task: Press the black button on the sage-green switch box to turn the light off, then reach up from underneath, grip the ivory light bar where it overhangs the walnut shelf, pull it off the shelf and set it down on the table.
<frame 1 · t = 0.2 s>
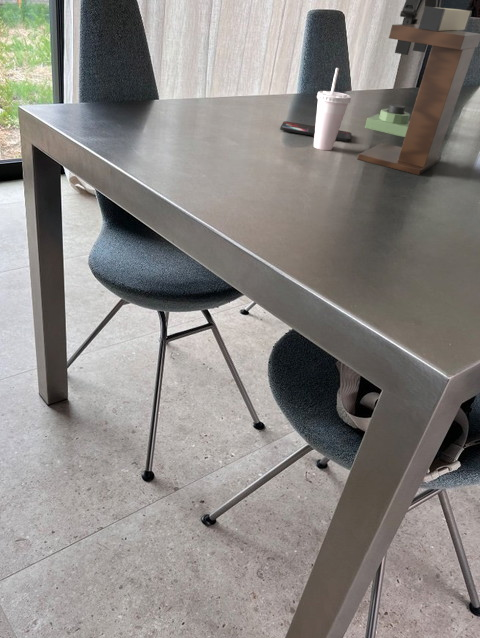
hand: (410, 52, 126), 16 cm above the table, tool pointing down, fingers open, 13 cm apart
button: (396, 109, 130), point 4 cm above the table, slide at 0.1 cm
smartphone: (315, 133, 121), on the table
smoothie: (322, 148, 112), on the table
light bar: (443, 29, 100), point 22 cm above the table, touching shelf
shelf: (398, 160, 110), on the table
switch box: (390, 130, 132), on the table
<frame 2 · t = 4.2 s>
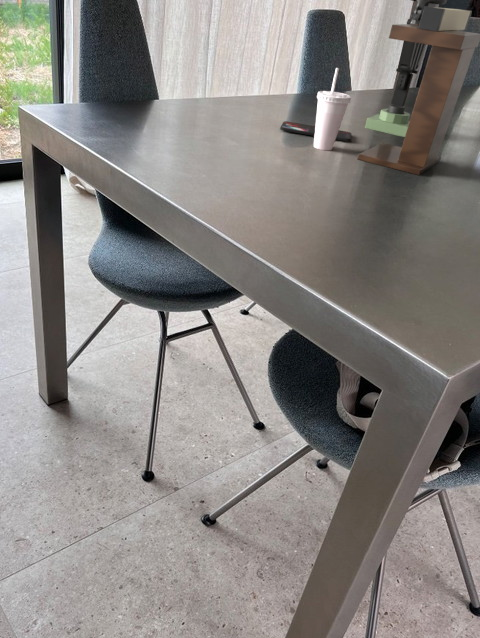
hand: (397, 104, 129), 6 cm above the table, tool pointing down, fingers closed
button: (396, 110, 130), point 4 cm above the table, slide at 0.0 cm, touching gripper
everything else where it was.
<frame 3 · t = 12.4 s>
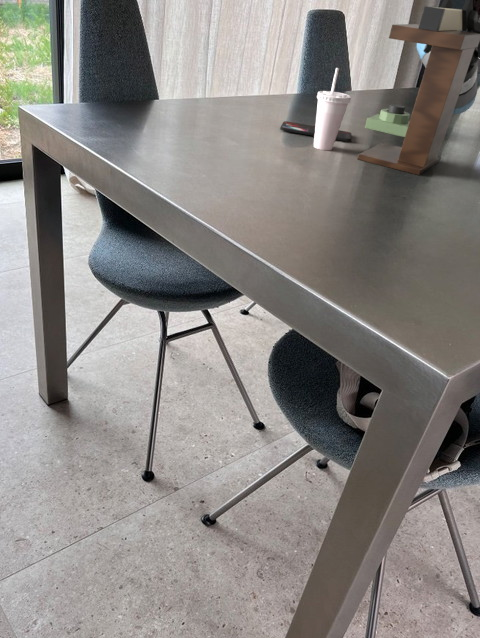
hand: (456, 1, 100), 26 cm above the table, tool pointing upward, fingers closed on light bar, 3 cm apart
button: (396, 109, 130), point 4 cm above the table, slide at 0.1 cm
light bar: (443, 29, 100), point 22 cm above the table, touching gripper, shelf
everything else where it was.
when the fingers open (8 cm above the table, at t = 20.5 s): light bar drops 3 cm, on the table.
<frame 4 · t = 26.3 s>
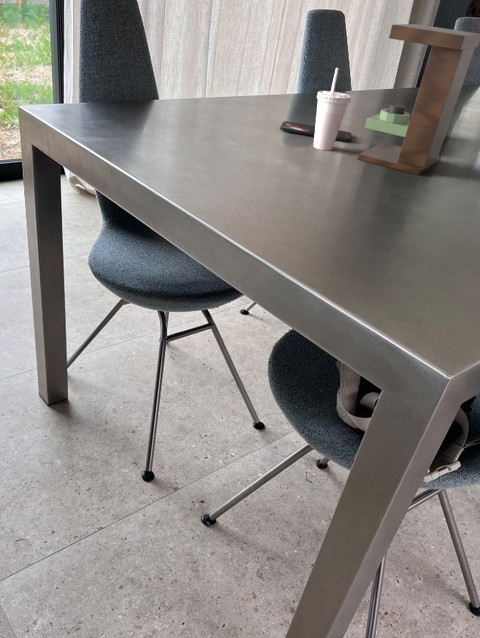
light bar: (426, 143, 125), on the table
everything else where it was.
at the end: button pushed in 1.0 cm at the most during the clip, back to where it started at the end; button slide at 0.1 cm; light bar inside the target area (1.4 cm from its centre), on the table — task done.
